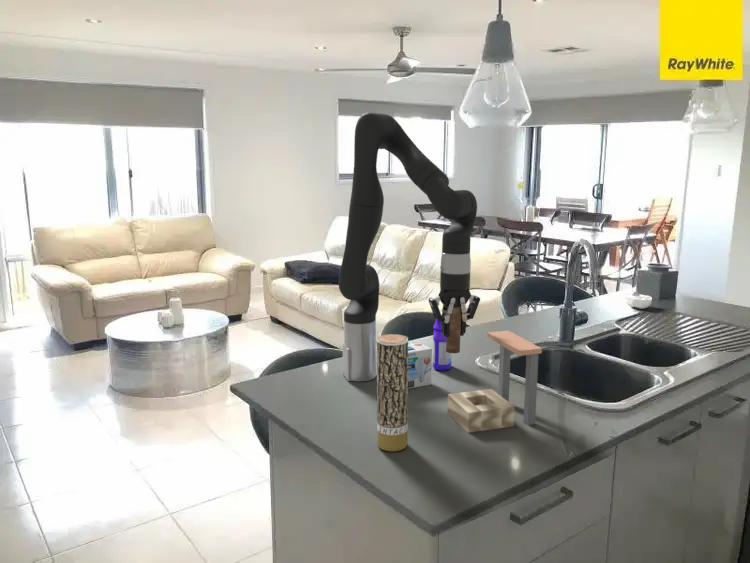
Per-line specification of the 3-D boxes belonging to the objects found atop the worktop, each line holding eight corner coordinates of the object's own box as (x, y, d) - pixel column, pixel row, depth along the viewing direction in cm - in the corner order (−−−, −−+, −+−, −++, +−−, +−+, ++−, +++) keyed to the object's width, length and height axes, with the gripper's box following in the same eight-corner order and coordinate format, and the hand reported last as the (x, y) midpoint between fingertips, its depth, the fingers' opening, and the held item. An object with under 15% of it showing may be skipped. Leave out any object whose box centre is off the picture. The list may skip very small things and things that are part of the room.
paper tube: (376, 439, 141) (375, 334, 136) (405, 438, 141) (405, 333, 136) (378, 453, 134) (378, 343, 129) (409, 452, 135) (410, 342, 130)
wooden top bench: (515, 427, 147) (519, 350, 143) (485, 402, 162) (487, 332, 158) (538, 424, 148) (541, 348, 144) (505, 400, 163) (508, 330, 159)
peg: (449, 353, 157) (450, 308, 155) (443, 349, 161) (445, 305, 158) (462, 352, 158) (463, 307, 156) (456, 348, 162) (457, 304, 159)
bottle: (450, 372, 185) (451, 316, 181) (431, 371, 186) (432, 315, 182) (452, 364, 192) (453, 310, 188) (434, 363, 193) (434, 309, 189)
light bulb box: (399, 391, 170) (399, 353, 168) (388, 383, 176) (388, 347, 174) (432, 384, 175) (433, 348, 173) (420, 377, 181) (420, 342, 179)
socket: (467, 432, 144) (468, 412, 143) (447, 412, 155) (447, 394, 154) (513, 426, 147) (514, 406, 146) (490, 407, 159) (491, 388, 158)
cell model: (637, 312, 255) (638, 296, 253) (618, 305, 266) (619, 290, 265) (657, 310, 257) (659, 294, 256) (638, 304, 269) (639, 288, 267)
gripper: (434, 274, 150) (433, 342, 153) (487, 271, 153) (484, 337, 157) (423, 268, 157) (422, 333, 160) (474, 266, 161) (472, 329, 164)
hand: (453, 335), depth 158 cm, fingers closed on peg, 3 cm apart
